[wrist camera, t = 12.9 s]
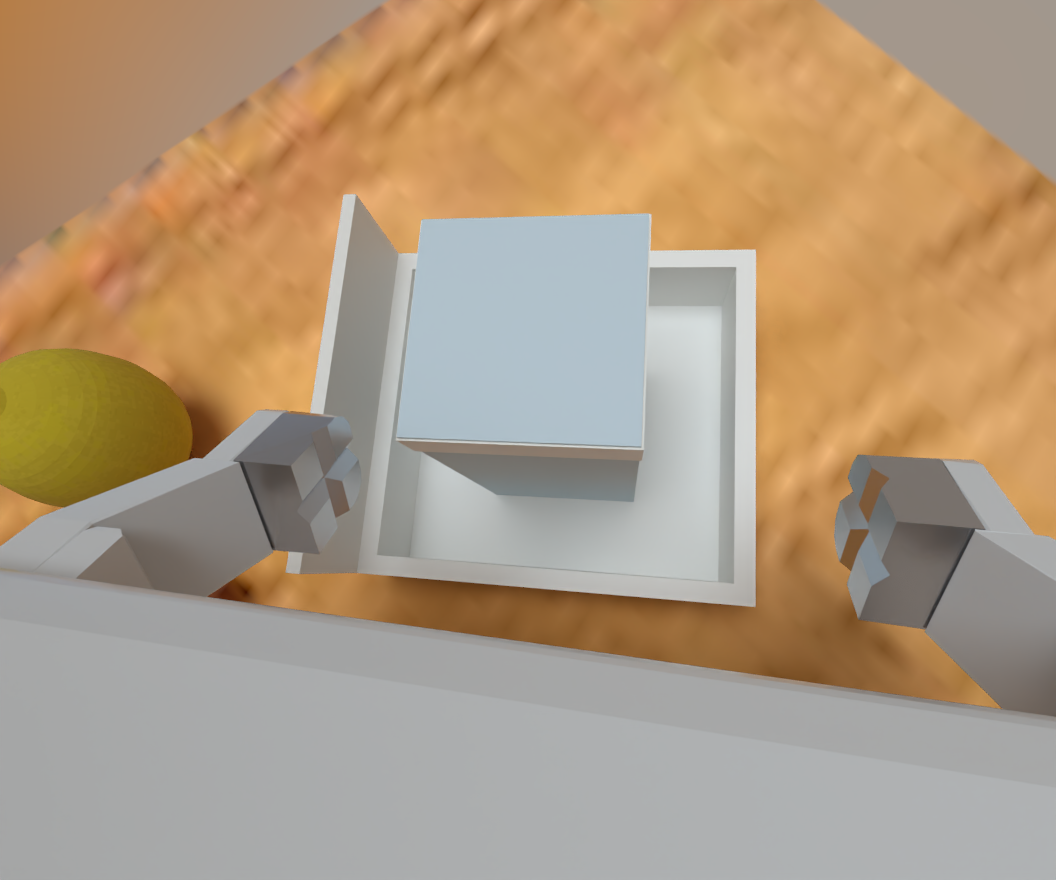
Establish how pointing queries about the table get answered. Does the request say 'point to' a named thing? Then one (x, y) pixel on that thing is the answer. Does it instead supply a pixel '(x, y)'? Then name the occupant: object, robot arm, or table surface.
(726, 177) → the table surface
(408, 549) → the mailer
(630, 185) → the table surface
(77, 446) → the lemon
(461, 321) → the carton
